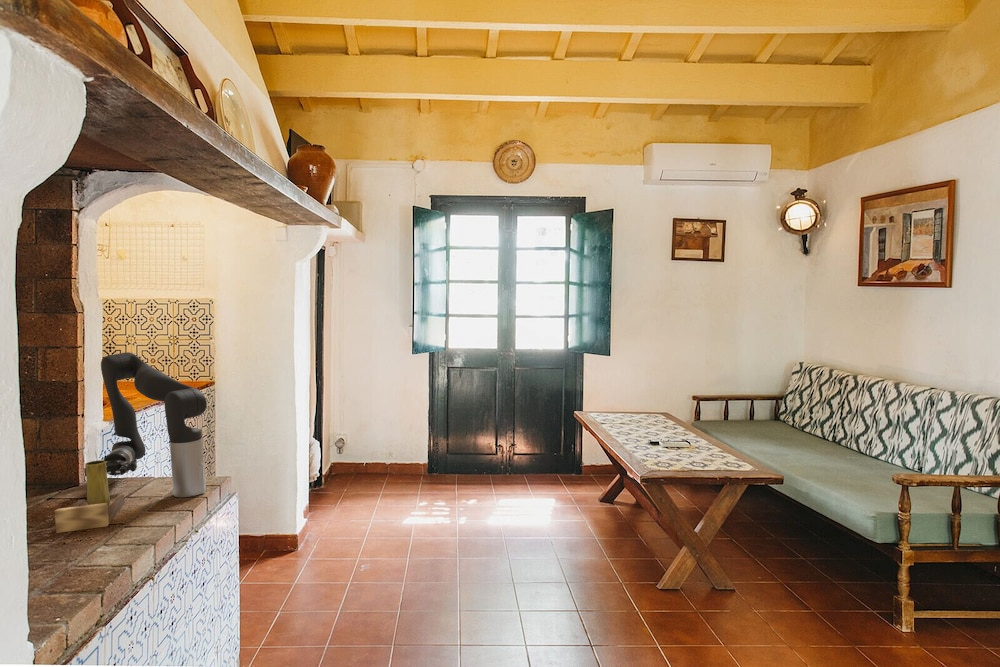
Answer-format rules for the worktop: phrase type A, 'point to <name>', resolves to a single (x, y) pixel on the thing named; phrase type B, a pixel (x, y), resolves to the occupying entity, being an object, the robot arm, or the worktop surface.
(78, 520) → the track
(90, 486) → the vase
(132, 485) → the worktop surface
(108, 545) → the worktop surface
